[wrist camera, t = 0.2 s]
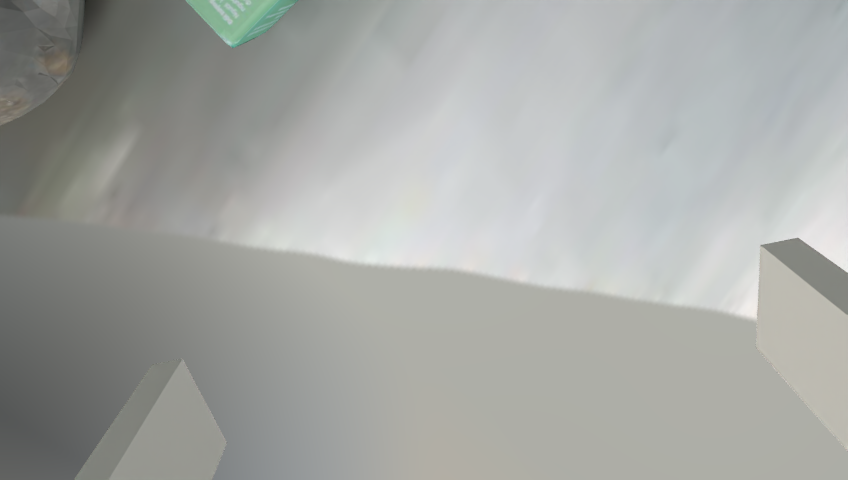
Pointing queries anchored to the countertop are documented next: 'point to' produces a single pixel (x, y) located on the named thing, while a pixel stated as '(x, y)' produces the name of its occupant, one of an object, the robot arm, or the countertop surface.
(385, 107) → the countertop surface
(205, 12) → the box
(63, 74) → the vessel
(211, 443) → the robot arm
